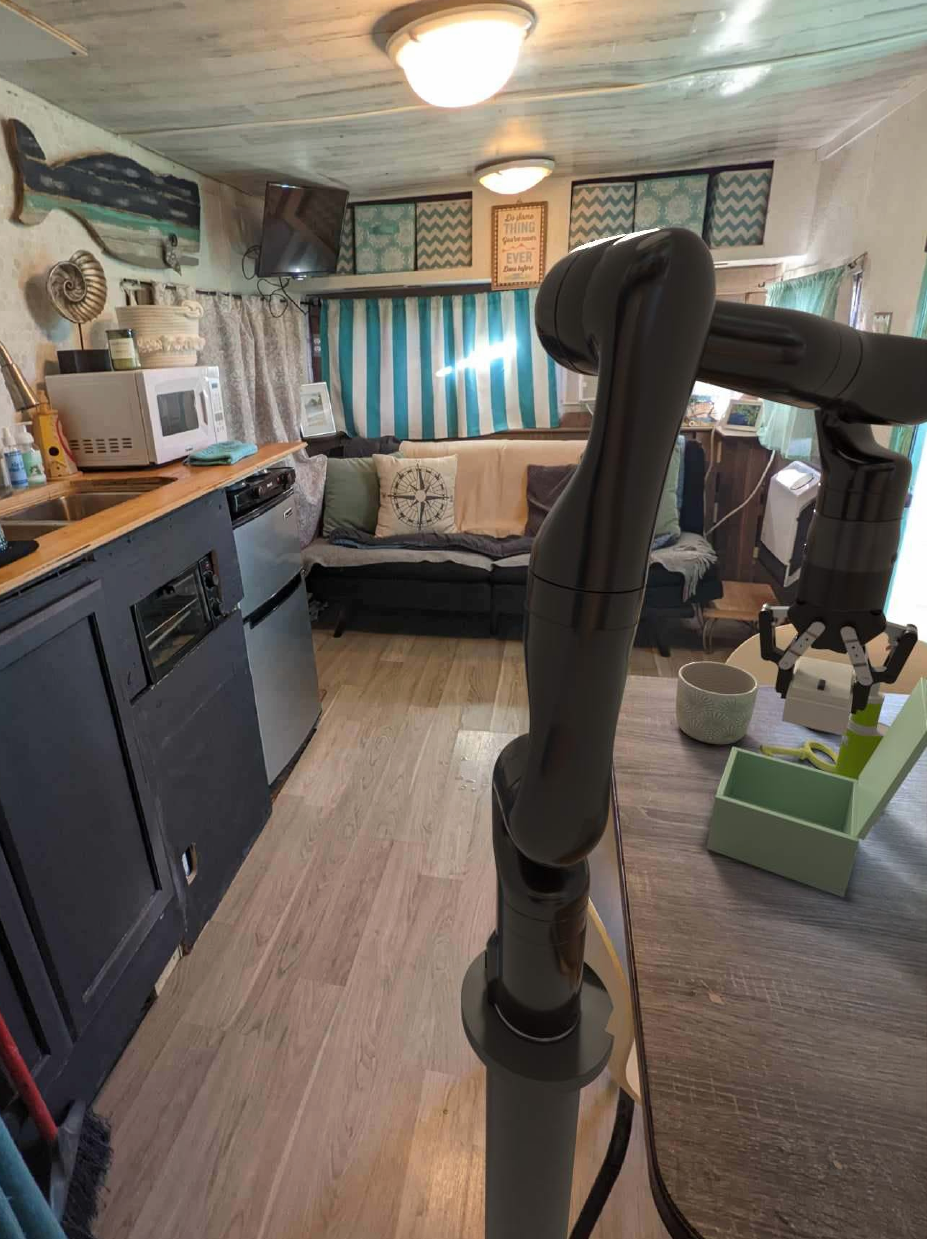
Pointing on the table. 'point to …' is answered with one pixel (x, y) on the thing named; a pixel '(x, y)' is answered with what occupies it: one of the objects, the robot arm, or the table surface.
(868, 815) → the lid
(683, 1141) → the table surface
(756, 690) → the planter
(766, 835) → the box
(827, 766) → the key
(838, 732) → the white power adapter
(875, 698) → the vape
